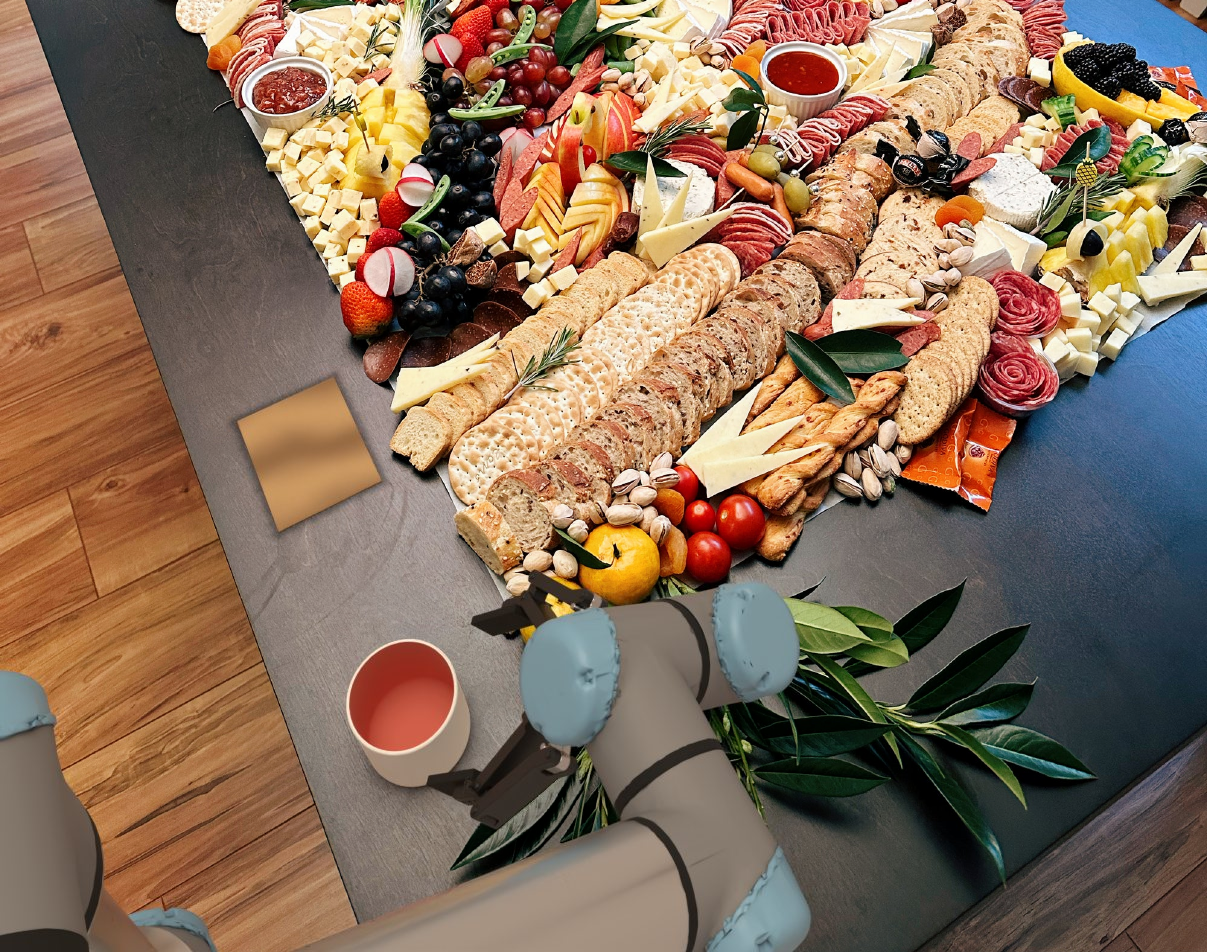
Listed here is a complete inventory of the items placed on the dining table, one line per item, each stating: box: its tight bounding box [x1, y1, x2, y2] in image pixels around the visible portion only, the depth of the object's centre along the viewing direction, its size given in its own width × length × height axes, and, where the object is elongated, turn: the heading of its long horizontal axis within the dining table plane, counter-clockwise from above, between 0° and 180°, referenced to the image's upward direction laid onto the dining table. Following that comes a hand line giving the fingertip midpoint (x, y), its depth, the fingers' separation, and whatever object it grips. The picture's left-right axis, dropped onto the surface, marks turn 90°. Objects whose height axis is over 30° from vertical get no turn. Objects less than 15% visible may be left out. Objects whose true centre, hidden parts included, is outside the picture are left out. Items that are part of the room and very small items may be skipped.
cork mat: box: [236, 376, 383, 533], centre depth 132 cm, size 16×12×1 cm
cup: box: [345, 638, 471, 788], centre depth 106 cm, size 10×10×10 cm
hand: (461, 702), depth 101 cm, fingers open, 13 cm apart
